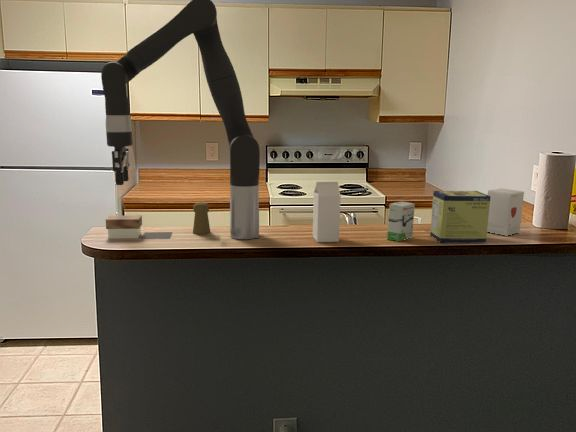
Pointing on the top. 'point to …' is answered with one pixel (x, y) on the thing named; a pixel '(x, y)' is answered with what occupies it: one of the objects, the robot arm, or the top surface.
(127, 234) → the dish
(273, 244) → the top surface
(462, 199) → the protein box
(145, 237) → the mat
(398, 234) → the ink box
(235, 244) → the top surface
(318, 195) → the milk carton
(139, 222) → the lid
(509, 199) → the supplement box
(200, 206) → the cork
